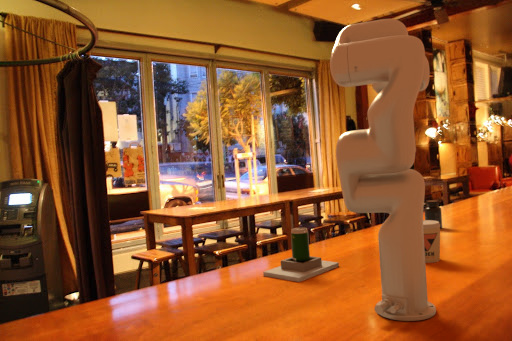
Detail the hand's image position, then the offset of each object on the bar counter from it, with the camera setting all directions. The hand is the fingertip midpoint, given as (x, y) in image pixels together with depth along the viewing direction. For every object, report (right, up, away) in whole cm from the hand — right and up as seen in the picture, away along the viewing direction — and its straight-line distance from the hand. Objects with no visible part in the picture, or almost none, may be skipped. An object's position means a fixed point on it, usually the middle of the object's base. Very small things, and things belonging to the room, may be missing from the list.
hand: (401, 175), depth 128 cm
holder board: (-27, -30, +13) cm, 42 cm away
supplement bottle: (+36, -24, +68) cm, 81 cm away
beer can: (-27, -29, +13) cm, 41 cm away
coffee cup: (+13, -27, +16) cm, 34 cm away
